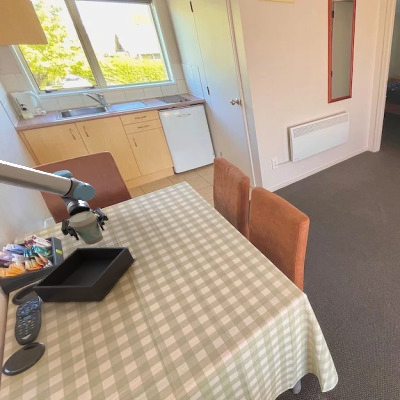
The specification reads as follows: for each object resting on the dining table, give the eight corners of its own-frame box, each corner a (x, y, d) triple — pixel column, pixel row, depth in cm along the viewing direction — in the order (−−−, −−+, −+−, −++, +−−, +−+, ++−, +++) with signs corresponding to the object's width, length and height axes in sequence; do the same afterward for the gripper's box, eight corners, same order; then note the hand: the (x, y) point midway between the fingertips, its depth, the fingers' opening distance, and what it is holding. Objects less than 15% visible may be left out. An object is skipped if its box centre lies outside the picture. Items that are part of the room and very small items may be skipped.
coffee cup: (97, 247, 107) (83, 223, 101) (76, 247, 108) (61, 223, 101) (111, 233, 115) (99, 210, 109) (92, 233, 115) (79, 210, 109)
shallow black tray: (43, 301, 91) (31, 288, 87) (85, 261, 108) (77, 247, 104) (100, 300, 91) (91, 286, 87) (134, 260, 108) (127, 247, 104)
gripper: (110, 208, 127) (123, 228, 113) (54, 227, 114) (61, 252, 100) (103, 195, 123) (116, 214, 109) (44, 213, 110) (50, 237, 97)
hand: (89, 232), depth 105 cm, fingers closed on coffee cup, 8 cm apart
